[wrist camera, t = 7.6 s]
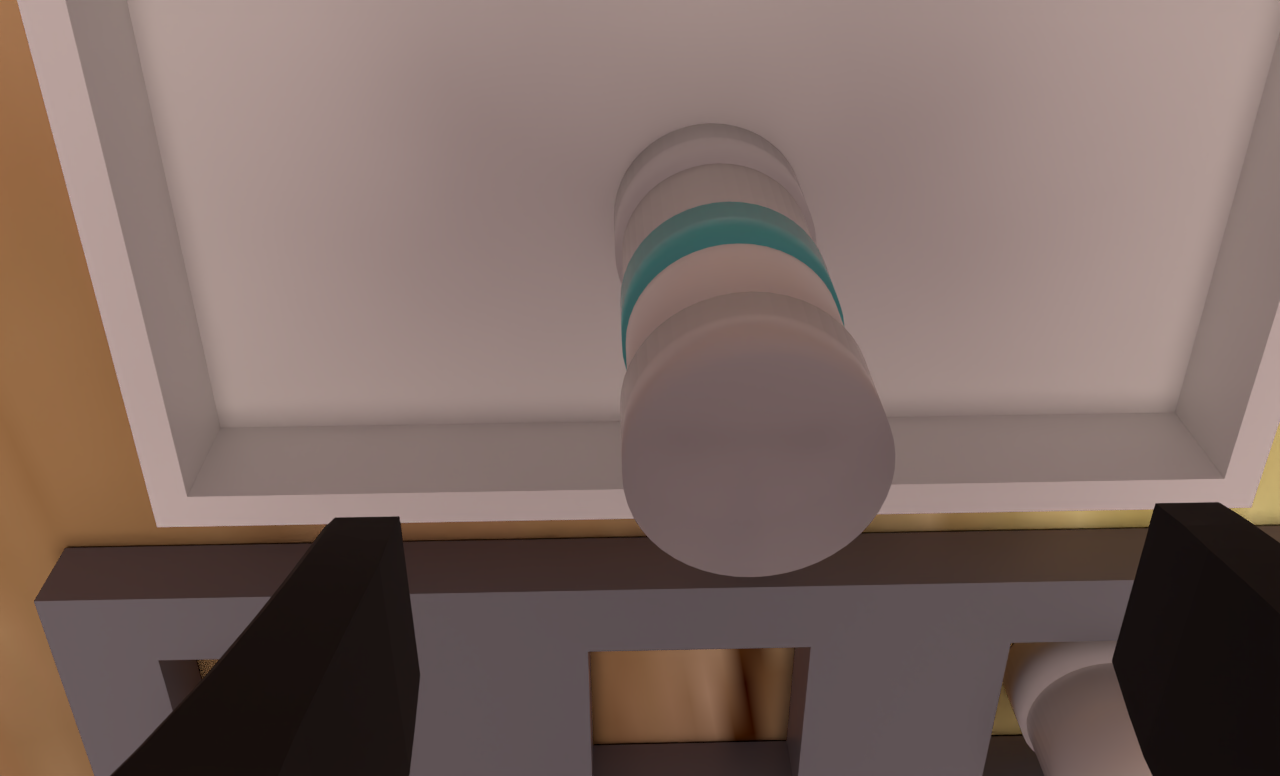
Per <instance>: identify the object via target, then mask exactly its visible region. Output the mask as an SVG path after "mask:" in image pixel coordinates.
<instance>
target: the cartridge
mask: <svg viewBox="0 0 1280 776" xmlns="http://www.w3.org/2000/svg"><path fill="white" fill-rule="evenodd" d="M1116 644H1117V641H1081V642H1032V643H1014V644H1013V645H1012V646H1011V648H1010V649H1009V654H1008V659H1007V663H1006V668H1005V673H1004V677H1003V685H1004V688H1005V690H1006V693H1007V695H1008V698H1009V701H1010V703H1011V706H1012V708H1013V711H1014V713H1015V716H1016V719H1017V721H1018V724H1019V726H1020V729H1021V731H1022V734H1023V737H1024V739H1025V741H1026V743H1027V744H1028V745H1029V747H1030V748H1031V749H1032V750H1033V751H1034V752H1035V753H1036V756H1037V758H1038V761H1039V763H1040V766H1041V769H1042V771H1043V774H1044V776H1152V774H1151V772H1150V769H1149V767H1148V765H1147V763H1146V761H1145V759H1144V757H1143V754H1142V751H1141V748H1140V745H1139V743H1138V740H1137V737H1136V734H1135V731H1134V728H1133V726H1132V723H1131V720H1130V717H1129V714H1128V711H1127V708H1126V705H1125V702H1124V698H1123V695H1122V692H1121V689H1120V686H1119V683H1118V679H1117V676H1116V673H1115V670H1114V667H1113V663H1112V658H1113V654H1114V651H1115V647H1116Z"/></svg>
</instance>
